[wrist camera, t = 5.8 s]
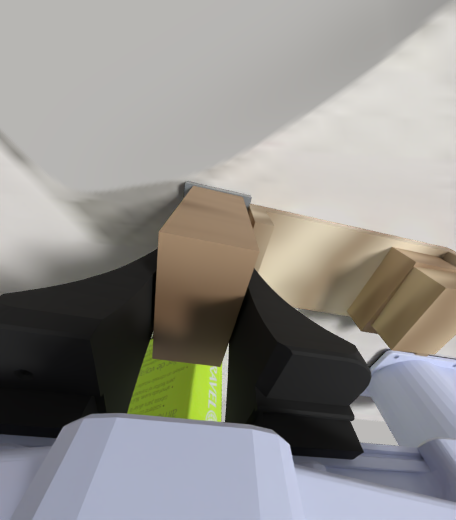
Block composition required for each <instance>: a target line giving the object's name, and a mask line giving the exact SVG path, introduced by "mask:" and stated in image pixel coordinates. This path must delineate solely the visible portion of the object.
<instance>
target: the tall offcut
mask: <svg viewBox="0 0 456 520" xmlns="http://www.w3.org/2000/svg"><path fill="white" fill-rule="evenodd" d="M259 252H260V251H259V247H258V244H257V241H256V238H255V234H254V231H253V228H252V225H251V221H250V218H249V215H248V212H247V208H246V205H245V202H244V199H243V197H241V196H237V195H232V194H228V193H223V192H219V191H214V190H210V189H206V188H201V187H197V186H193V187H192V188H191V189H190V191H189V192H188V193H187V195H186V196H185V197H184V199H183V200H182V201H181V203H180V204H179V205H178V207H177V208H176V209H175V211H174V212H173V213H172V215H171V216H170V217H169V219H168V220H167V221H166V223H165V224H164V225H163V227H162V228H161V229H160V231H159V236H158V256H157V275H156V294H155V314H154V333H153V352H152V359H159V360H167V361H175V362H184V363H192V364H200V365H208V366H216V367H221V364H222V361H223V358H224V355H225V352H226V349H227V346H228V343H229V340H230V337H231V334H232V331H233V329H234V326H235V323H236V320H237V317H238V314H239V311H240V308H241V305H242V302H243V299H244V296H245V293H246V290H247V287H248V284H249V281H250V279H251V276H252V273H253V270H254V267H255V264H256V261H257V258H258V255H259Z"/></svg>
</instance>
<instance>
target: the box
mask: <svg viewBox="0 0 456 520" xmlns="http://www.w3.org/2000/svg"><path fill="white" fill-rule="evenodd" d="M152 352H153V339H152V340H150V342H149V345H148V348H147V351H146V354H145V357H144V360H143V363H142V366H141V369H140V372H139V375H138V379H137V382H136V385H135V388H134V392H133V395H132V398H131V401H130V405H129V408H128V412H127V414H137V415H149V416H160V417H171V418H182V419H193V420H205V421H216V422H221V406H222V364H221V367H216V366H208V365H200V364H192V363H184V362H175V361H167V360H159V359H152Z"/></svg>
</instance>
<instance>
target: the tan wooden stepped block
mask: <svg viewBox="0 0 456 520" xmlns="http://www.w3.org/2000/svg"><path fill="white" fill-rule="evenodd" d="M248 215H249V218H250V221H251V225H252V228H253V231H254V234H255V238H256V241H257V244H258V247H259V251H260V252H259V255H258V258H257V261H256V264H255V267H254V268H255V270H256V271H257V272H258V273H259V275H260V276H261V277H262V278H263V279H264V281H265V282H266V283H267V284H268V285H269V286H270V287H271V288H272V289H273V290H274V291H275V292H276V293H277V294H278V295H279V296H280V297H281V298H282V299H284V300H285V301H286V302H287V303H288V304H289V305H291V306H292V307H294V308H301V309H307V310H313V311H319V312H325V313H331V314H337V315H343V316H349V317H350V315H349V314H348V312H347V310H348V309H349V307H350V306H351V305H352V303H353V302H354V300H355V299H356V297H357V296H358V295H359V293H360V292H361V290H362V289H363V288H364V286H365V285H366V283H367V282H368V280H369V279H370V278H371V276H372V275H373V273H374V272H375V270H376V269H377V268H378V266H379V265H380V263H381V262H382V261H383V259H384V258H385V256H386V255H387V253H388V252H389V251H390V249H391V248H392V247H395V248H400V249H405V250H409V251H414V252H418V253H423V254H428V255H432V256H437V257H439V258H441V259H443V260H444V261H446V262H448V263H450V264H452V265H454V266H455V267H456V252H455V251H453V250H451V249H449V248H446V247H442V246H437V245H433V244H428V243H424V242H419V241H415V240H410V239H406V238H401V237H397V236H392V235H388V234H383V233H379V232H375V231H370V230H366V229H361V228H357V227H352V226H348V225H343V224H339V223H334V222H330V221H325V220H321V219H316V218H312V217H307V216H303V215H298V214H294V213H289V212H285V211H281V210H276V209H272V208H267V207H263V206H258V205H254V204H250V206H249V209H248ZM414 354H415V355H419V356H426V357H427V356H428V355H429V354H424V353H414Z"/></svg>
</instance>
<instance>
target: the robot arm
mask: <svg viewBox="0 0 456 520" xmlns="http://www.w3.org/2000/svg"><path fill="white" fill-rule="evenodd" d="M157 256H158V249H156V250H155V251H153V252H151V253H149V254H148V255H146V256H144V257H142V258H140V259H138V260H136V261H134V262H132V263H130V264H128V265H126V266H123V267H121V268H118V269H115V270H113V271H110V272H107V273H104V274H101V275H97V276H94V277H91V278H87V279H84V280H80V281H76V282H71V283H67V284H62V285H57V286H52V287H47V288H41V289H34V290H28V291H21V292H15V293H7V294H2V295H1V296H0V520H456V360H455V359H448V358H441V357H434V356H427V357H426V356H419V355H415V354H414V353H407V352H401V351H392V350H389V351H386V352H385V353H384V354H383V355H382V356H381V357H380V358H379V359H378V360H377V361H376V362H375V363H374V364H373V365H372V367H371V368H369V367H368V365H367V364H366V362H365V360H364V359H363V357H362V356H361V354H360V353H359V351H358V349H357V348H356V346H355V345H353V344H351V343H350V342H348V341H346V340H344V339H342V338H340V337H338V336H337V335H335V334H333V333H331V332H329V331H327V330H326V329H324V328H323V327H321V326H319V325H318V324H316V323H314V322H313V321H311V320H310V319H308V318H307V317H305V316H304V315H303V314H301V313H300V312H299V311H297V310H296V309H295V308H293V307H292V306H291V305H289V304H288V303H287V302H286V301H285V300H284V299H282V298H281V297H280V296H279V295H278V294H277V293H276V292H275V291H274V290H273V289H272V288H271V287H270V286H269V285H268V284H267V283H266V282H265V281H264V279H263V278H262V277H261V276H260V275H259V273H258V272H257V271H256V270H255V268H254V270H253V273H252V276H251V279H250V281H249V284H248V287H247V290H246V293H245V296H244V299H243V302H242V305H241V308H240V311H239V314H238V317H237V320H236V323H235V326H234V329H233V331H232V334H231V337H230V340H229V362H228V384H227V401H226V416H225V422H216V421H205V420H193V419H182V418H171V417H160V416H149V415H137V414H127V412H128V408H129V405H130V401H131V398H132V395H133V392H134V388H135V385H136V382H137V379H138V375H139V372H140V369H141V366H142V363H143V360H144V357H145V354H146V351H147V348H148V345H149V342H150V339H151V336H152V333H153V330H154V314H155V294H156V275H157ZM358 396H367V397H371V398H372V399H373V401H374V403H375V405H376V406H377V408H378V410H379V412H380V413H381V415H382V417H383V419H384V420H385V422H386V424H387V425H388V427H389V429H390V431H391V432H392V434H393V436H394V438H395V439H396V441H397V443H398V445H399V446H395V445H383V444H371V443H360V442H359V440H358V437H357V435H356V433H355V431H354V429H353V426H352V424H351V422H350V421H353V420H354V414H353V412H352V410H351V408H350V406H349V405H350V404H351V403H352V402H353V401H354V400H355V399H356V398H357V397H358Z"/></svg>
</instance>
